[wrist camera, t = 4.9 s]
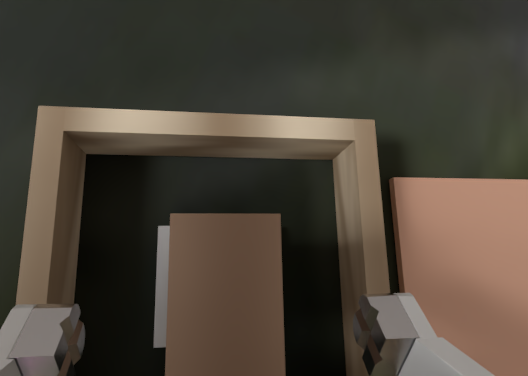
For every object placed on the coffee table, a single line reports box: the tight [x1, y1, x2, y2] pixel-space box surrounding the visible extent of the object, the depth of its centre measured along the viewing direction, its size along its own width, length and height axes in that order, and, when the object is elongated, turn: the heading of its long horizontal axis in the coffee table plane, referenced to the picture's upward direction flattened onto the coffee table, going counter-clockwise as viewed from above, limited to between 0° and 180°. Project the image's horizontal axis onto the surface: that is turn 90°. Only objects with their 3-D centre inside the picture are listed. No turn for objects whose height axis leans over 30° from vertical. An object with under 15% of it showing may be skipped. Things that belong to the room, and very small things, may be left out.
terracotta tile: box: [389, 177, 528, 376], centre depth 19 cm, size 10×10×1 cm
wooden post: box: [153, 213, 286, 376], centre depth 13 cm, size 5×5×10 cm
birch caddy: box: [16, 106, 390, 376], centre depth 16 cm, size 14×14×3 cm
